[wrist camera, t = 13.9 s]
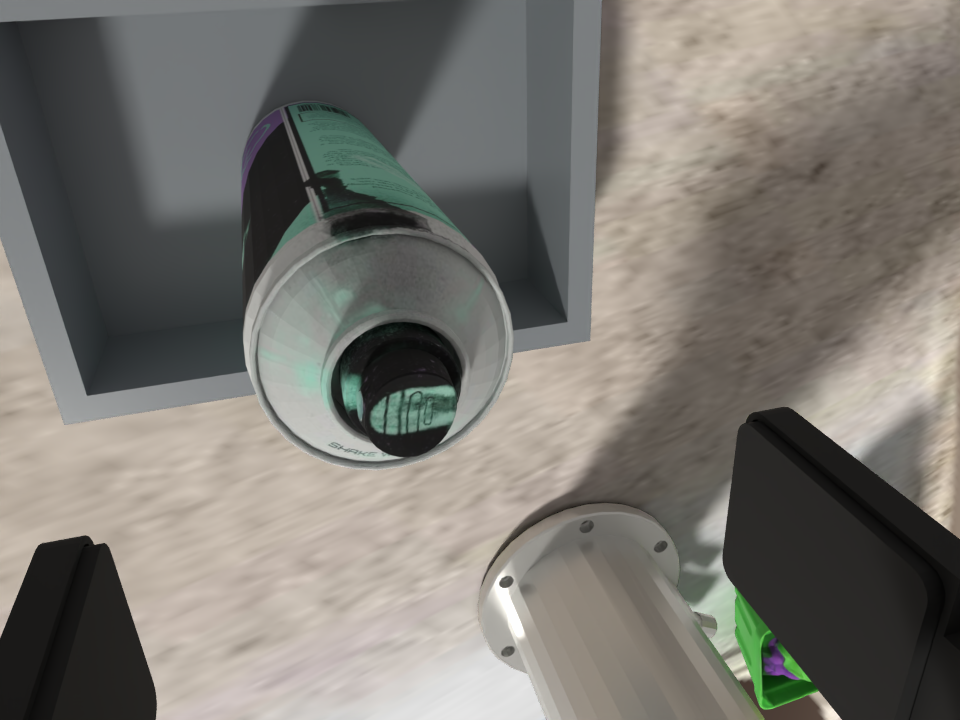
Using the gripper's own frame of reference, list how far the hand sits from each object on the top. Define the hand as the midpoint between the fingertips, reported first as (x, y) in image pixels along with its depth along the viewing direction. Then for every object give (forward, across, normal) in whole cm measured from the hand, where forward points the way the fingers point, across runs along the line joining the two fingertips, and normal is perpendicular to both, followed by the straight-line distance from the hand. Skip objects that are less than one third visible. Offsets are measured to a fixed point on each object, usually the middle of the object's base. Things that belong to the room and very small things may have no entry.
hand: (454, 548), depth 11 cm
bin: (+24, +1, -1) cm, 24 cm away
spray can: (+23, 0, -1) cm, 23 cm away
